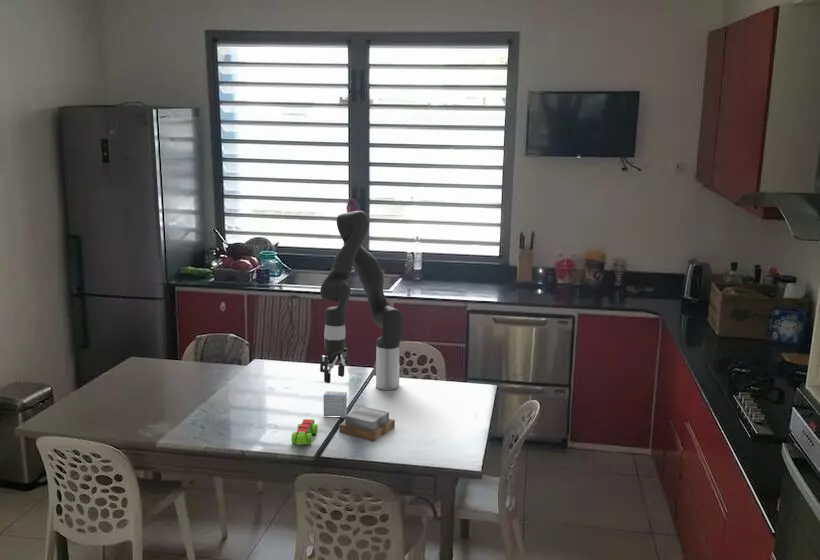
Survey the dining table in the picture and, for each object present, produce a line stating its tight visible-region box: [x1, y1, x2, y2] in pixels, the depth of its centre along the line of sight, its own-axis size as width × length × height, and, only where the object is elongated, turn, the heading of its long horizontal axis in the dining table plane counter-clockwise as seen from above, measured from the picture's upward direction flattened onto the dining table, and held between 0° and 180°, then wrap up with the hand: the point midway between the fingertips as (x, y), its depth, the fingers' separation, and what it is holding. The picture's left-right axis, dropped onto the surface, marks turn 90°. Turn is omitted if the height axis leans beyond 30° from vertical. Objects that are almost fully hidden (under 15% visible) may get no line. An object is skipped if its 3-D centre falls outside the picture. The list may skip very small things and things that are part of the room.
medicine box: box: [322, 390, 348, 419], centre depth 280 cm, size 8×4×9 cm, turn 84°
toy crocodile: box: [291, 418, 319, 445], centre depth 260 cm, size 20×7×6 cm, turn 175°
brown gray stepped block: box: [338, 405, 396, 442], centre depth 268 cm, size 14×14×6 cm
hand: (334, 379), depth 278 cm, fingers open, 8 cm apart
